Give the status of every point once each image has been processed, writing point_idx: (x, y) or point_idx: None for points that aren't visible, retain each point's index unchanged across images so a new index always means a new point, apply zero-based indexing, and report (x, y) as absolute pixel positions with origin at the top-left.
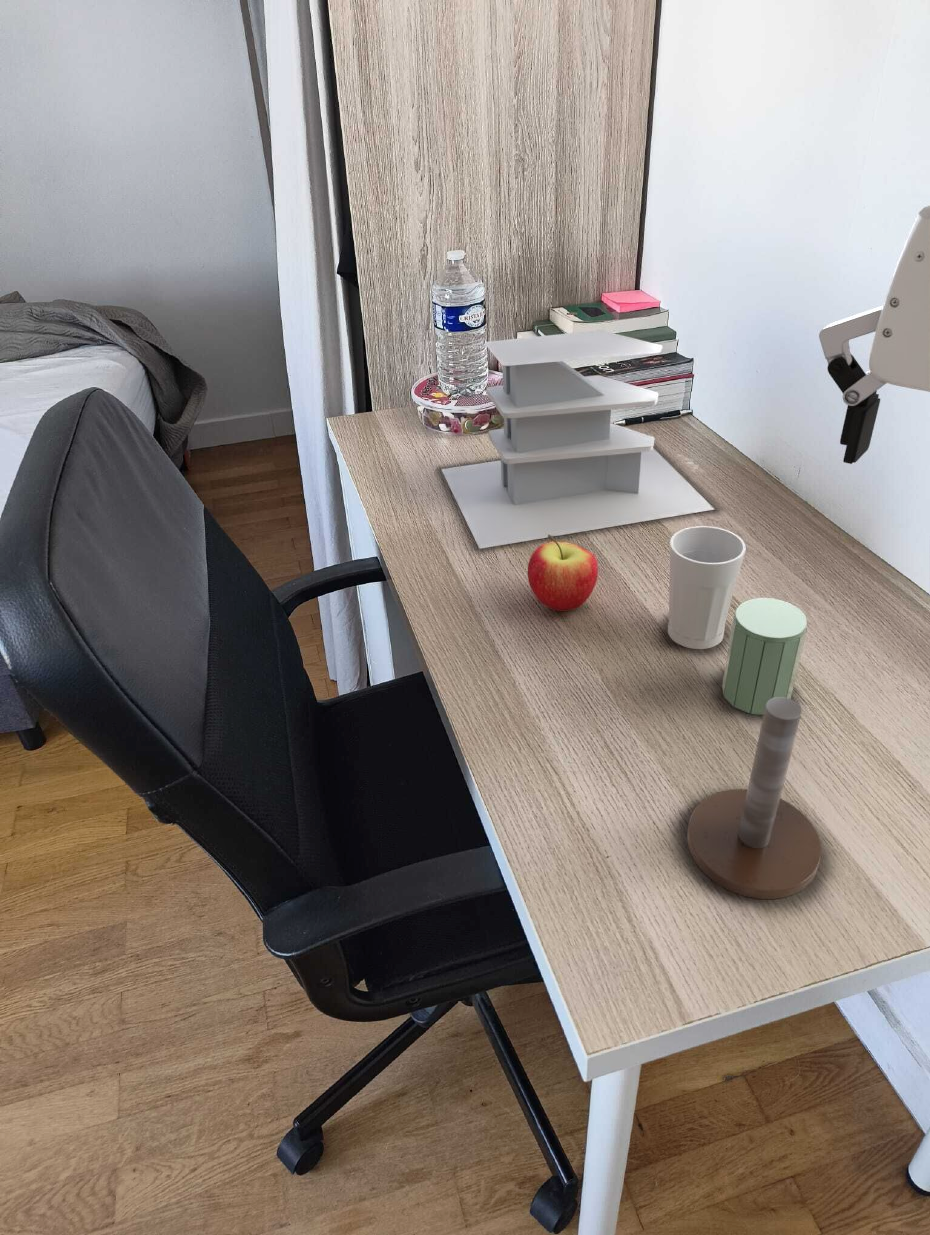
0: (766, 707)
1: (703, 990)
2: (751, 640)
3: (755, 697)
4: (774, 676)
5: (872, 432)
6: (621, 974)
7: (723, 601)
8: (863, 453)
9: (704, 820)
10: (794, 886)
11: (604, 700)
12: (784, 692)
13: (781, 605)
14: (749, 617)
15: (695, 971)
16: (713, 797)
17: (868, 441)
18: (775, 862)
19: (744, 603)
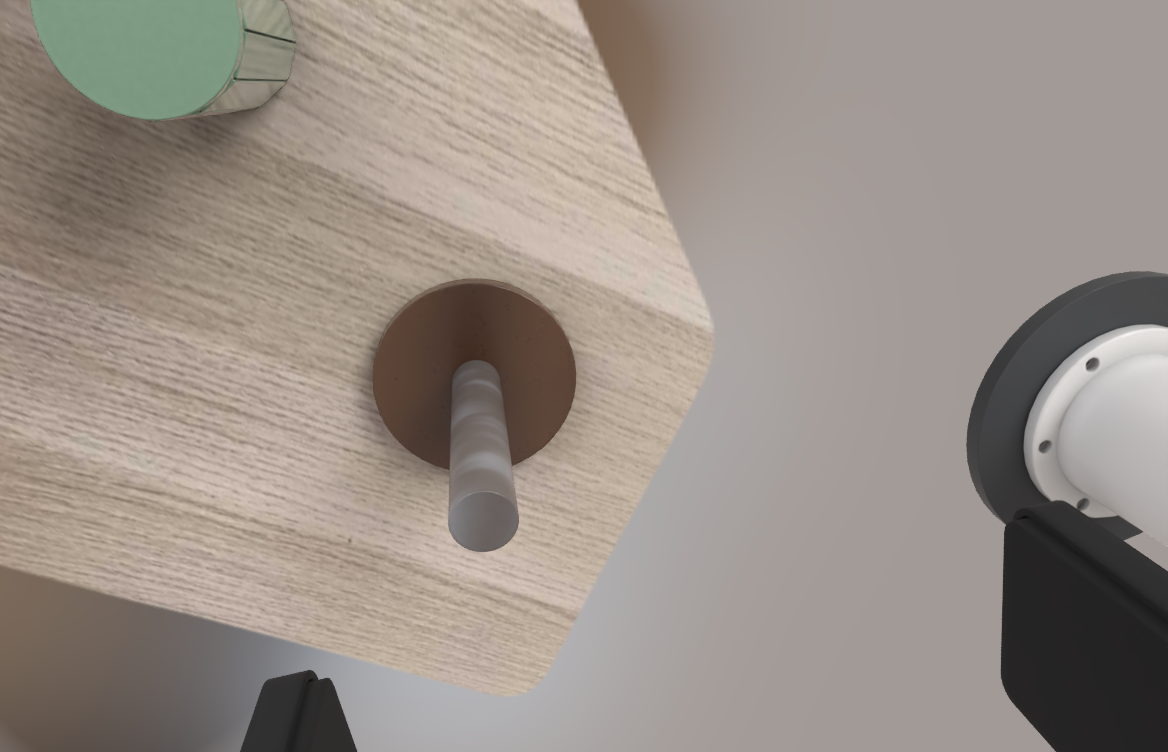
0: (459, 543)
1: (569, 580)
2: (170, 119)
3: (251, 105)
4: (258, 85)
5: (309, 743)
6: (491, 634)
7: None
8: (350, 739)
9: (404, 414)
10: (569, 409)
11: (38, 298)
12: (283, 49)
13: None
14: (102, 65)
15: (548, 571)
16: (380, 366)
17: (328, 741)
18: (527, 397)
19: (38, 11)
